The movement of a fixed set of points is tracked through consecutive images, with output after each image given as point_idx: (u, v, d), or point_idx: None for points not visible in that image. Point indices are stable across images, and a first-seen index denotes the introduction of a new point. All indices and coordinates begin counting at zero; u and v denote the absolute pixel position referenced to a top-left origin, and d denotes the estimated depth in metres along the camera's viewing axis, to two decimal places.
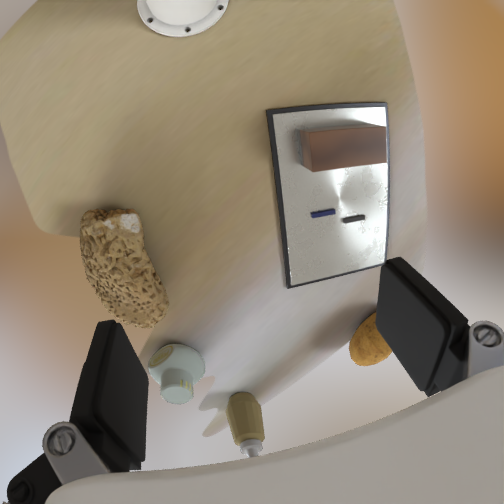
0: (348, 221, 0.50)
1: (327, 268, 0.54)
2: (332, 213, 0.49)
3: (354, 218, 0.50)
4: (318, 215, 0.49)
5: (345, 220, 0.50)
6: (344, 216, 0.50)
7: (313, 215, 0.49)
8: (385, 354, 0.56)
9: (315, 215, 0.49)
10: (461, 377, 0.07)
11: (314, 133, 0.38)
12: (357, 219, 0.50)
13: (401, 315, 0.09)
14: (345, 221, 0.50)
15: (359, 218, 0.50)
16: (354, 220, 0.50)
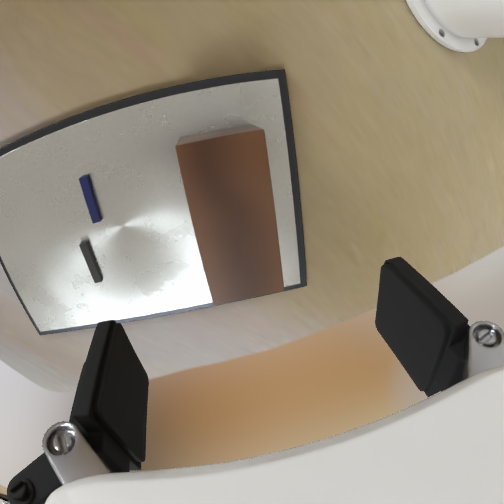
0: (84, 252, 0.24)
1: (3, 232, 0.22)
2: (92, 216, 0.23)
3: (92, 262, 0.25)
4: (84, 189, 0.22)
5: (85, 245, 0.24)
6: (91, 242, 0.25)
7: (84, 178, 0.22)
8: None
9: (84, 183, 0.22)
10: (461, 377, 0.07)
11: (262, 141, 0.18)
12: (91, 268, 0.25)
13: (401, 315, 0.09)
14: (83, 246, 0.24)
15: (93, 272, 0.25)
16: (88, 263, 0.25)
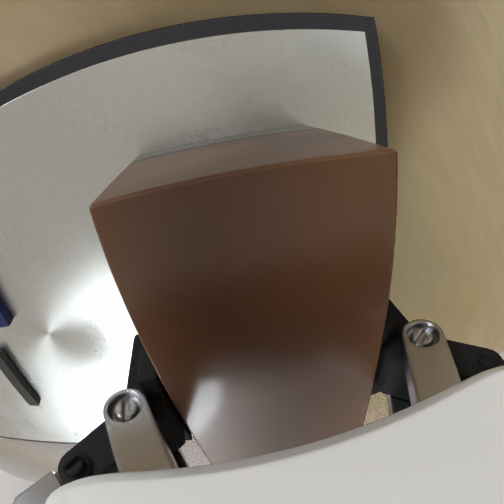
0: (1, 366, 0.11)
1: None
2: None
3: (16, 381, 0.12)
4: None
5: None
6: (8, 351, 0.11)
7: None
8: None
9: None
10: (404, 381, 0.07)
11: (389, 189, 0.05)
12: (18, 388, 0.12)
13: None
14: None
15: (23, 393, 0.12)
16: (12, 381, 0.12)
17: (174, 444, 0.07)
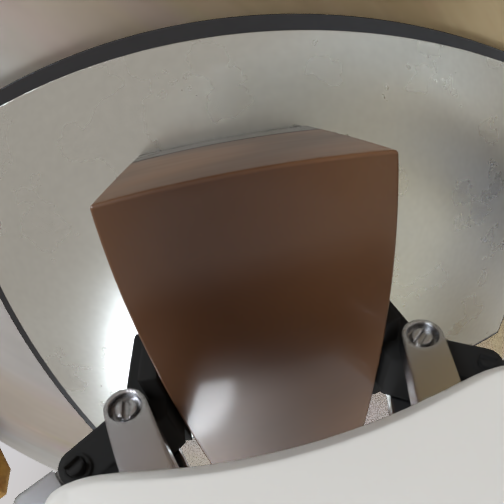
0: None
1: (31, 282, 0.10)
2: None
3: None
4: None
5: None
6: None
7: None
8: None
9: None
10: (403, 381, 0.07)
11: (391, 189, 0.05)
12: None
13: None
14: None
15: None
16: None
17: (174, 444, 0.07)
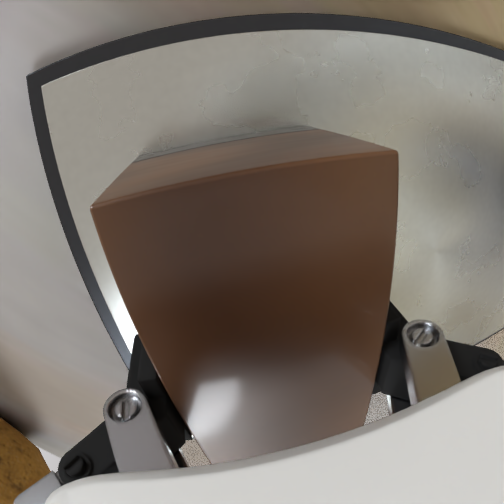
0: None
1: None
2: None
3: None
4: None
5: None
6: None
7: None
8: None
9: None
10: (403, 381, 0.07)
11: (391, 189, 0.05)
12: None
13: None
14: None
15: None
16: None
17: (174, 444, 0.07)
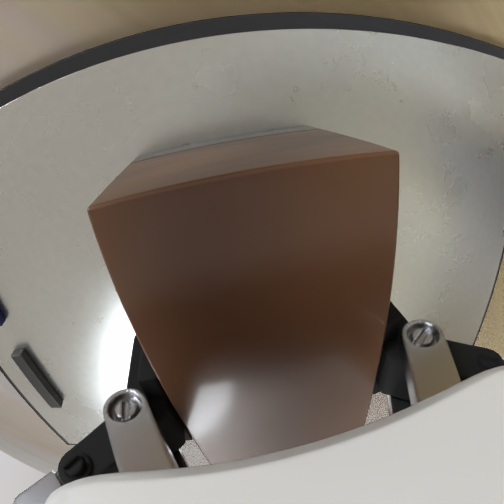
0: (22, 367, 0.11)
1: None
2: None
3: (38, 382, 0.12)
4: None
5: (20, 359, 0.11)
6: None
7: None
8: None
9: None
10: (403, 381, 0.07)
11: (391, 190, 0.05)
12: (40, 390, 0.12)
13: None
14: (17, 359, 0.11)
15: (45, 395, 0.12)
16: (33, 383, 0.12)
17: (174, 444, 0.07)
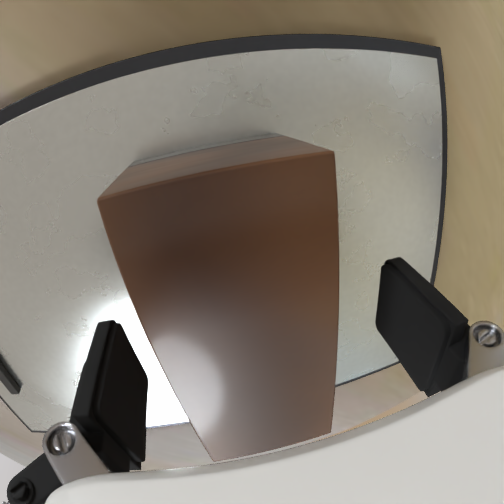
0: None
1: None
2: None
3: None
4: None
5: None
6: None
7: None
8: None
9: None
10: (461, 377, 0.07)
11: (329, 182, 0.07)
12: (1, 378, 0.13)
13: (401, 315, 0.09)
14: None
15: (5, 382, 0.13)
16: None
17: None
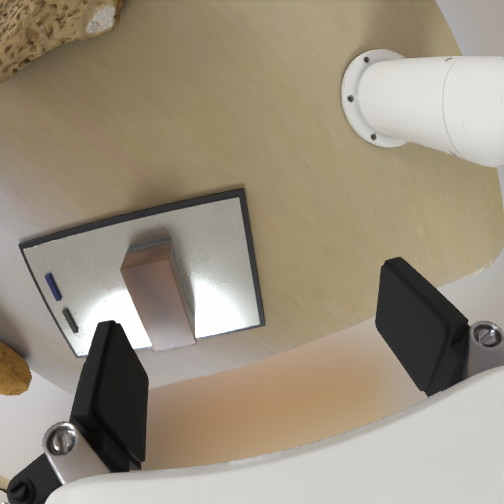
0: (65, 315, 0.37)
1: None
2: (55, 297, 0.36)
3: (70, 321, 0.38)
4: (48, 283, 0.34)
5: (65, 312, 0.37)
6: (119, 300, 0.38)
7: (47, 276, 0.34)
8: None
9: (48, 279, 0.34)
10: (461, 377, 0.07)
11: (168, 265, 0.32)
12: (70, 325, 0.38)
13: (401, 315, 0.09)
14: (64, 312, 0.37)
15: (72, 327, 0.38)
16: (68, 322, 0.38)
17: None
